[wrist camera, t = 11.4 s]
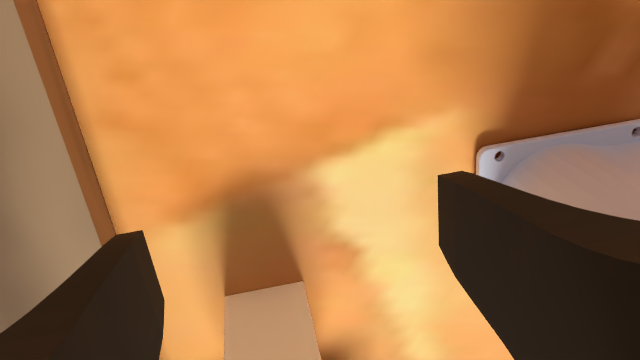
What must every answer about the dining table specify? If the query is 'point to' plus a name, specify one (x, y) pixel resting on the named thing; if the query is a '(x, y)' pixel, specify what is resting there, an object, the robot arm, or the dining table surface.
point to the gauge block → (270, 325)
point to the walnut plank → (40, 170)
